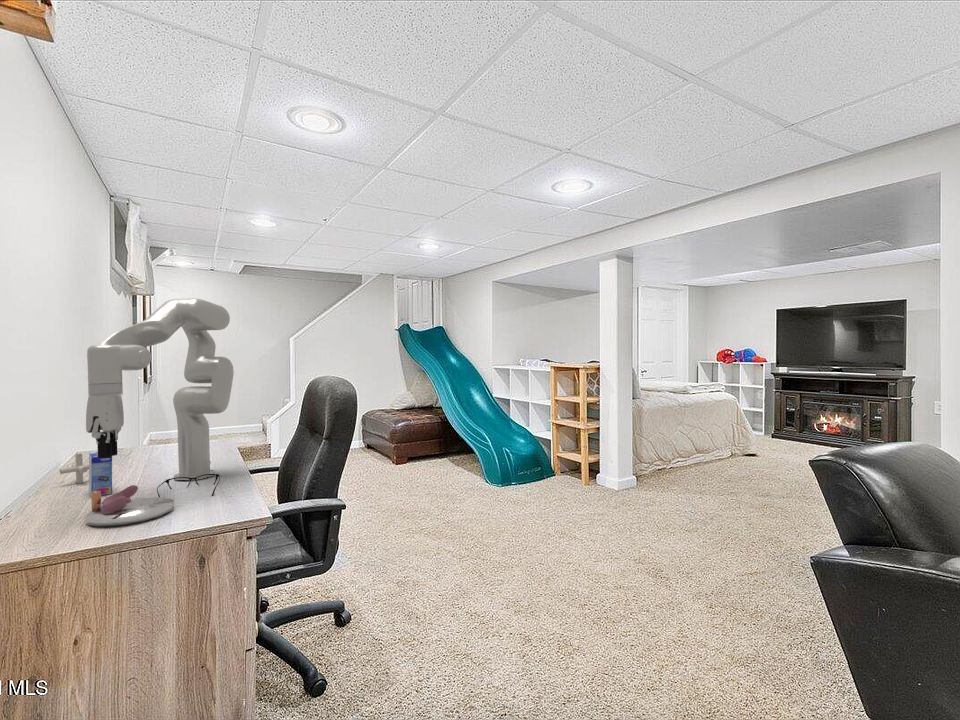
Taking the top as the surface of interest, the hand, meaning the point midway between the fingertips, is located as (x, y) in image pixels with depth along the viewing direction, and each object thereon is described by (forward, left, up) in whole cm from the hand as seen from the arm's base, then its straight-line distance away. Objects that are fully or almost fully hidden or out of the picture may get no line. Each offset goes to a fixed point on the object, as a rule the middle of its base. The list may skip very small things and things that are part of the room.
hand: (107, 456), depth 134 cm
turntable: (+6, +8, -15) cm, 18 cm away
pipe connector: (-36, -27, -15) cm, 47 cm away
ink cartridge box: (-21, -13, -15) cm, 29 cm away
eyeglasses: (-14, +15, -16) cm, 26 cm away
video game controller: (+6, +8, -12) cm, 15 cm away
